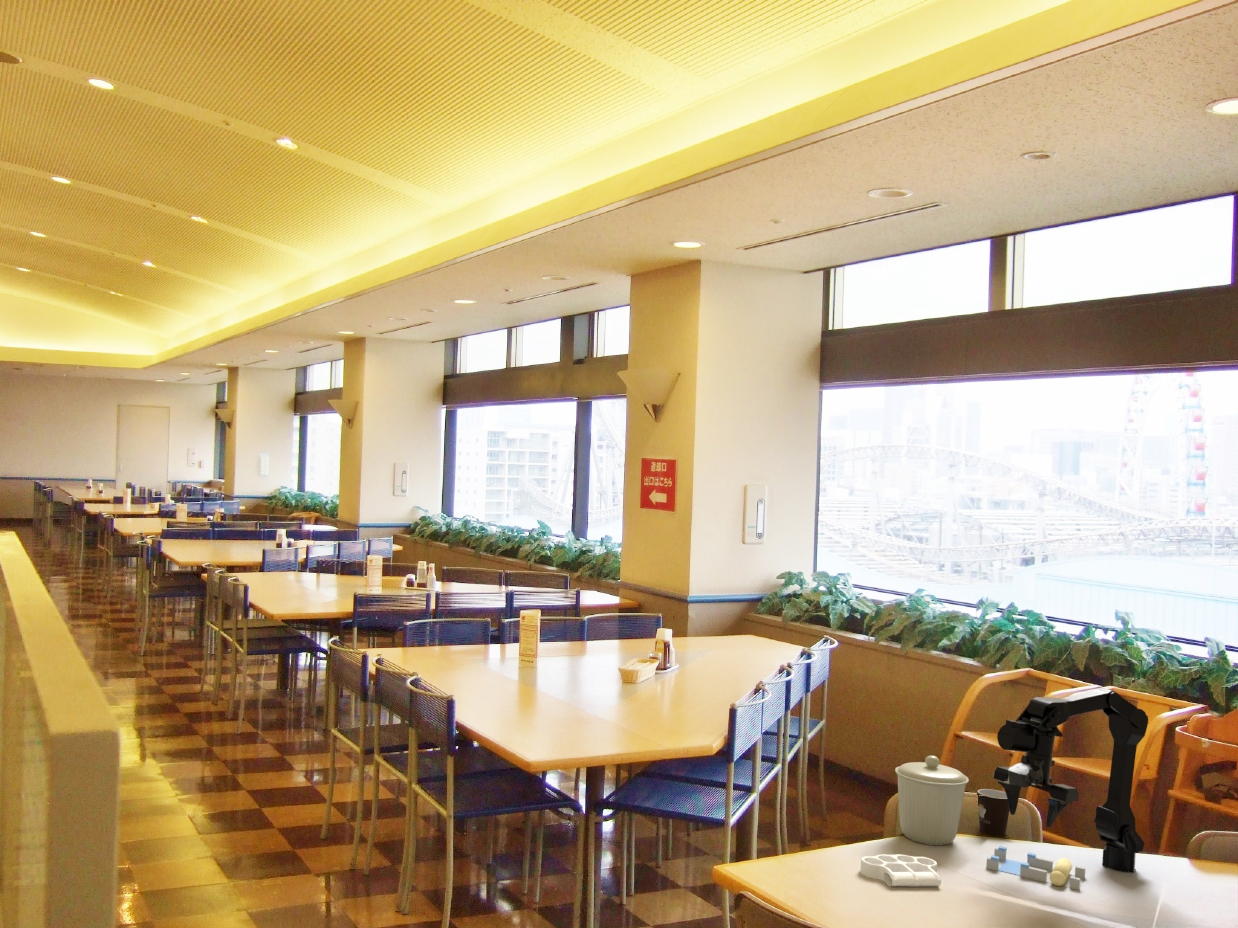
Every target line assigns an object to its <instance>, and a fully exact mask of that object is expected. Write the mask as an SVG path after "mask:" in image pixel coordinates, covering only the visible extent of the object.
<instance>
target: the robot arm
mask: <svg viewBox="0 0 1238 928" xmlns="http://www.w3.org/2000/svg"><path fill="white" fill-rule="evenodd" d="M1096 711H1101V712H1102V713H1103V714H1104V715H1106V716H1107V718H1108V729H1109V733H1110V735H1111V736H1112V739H1113V746H1112V747H1113V748H1112V754H1111V755H1112V757H1111V763H1110V764H1111V765H1110V773H1109V780H1108V781H1109V782H1108V789H1107V791H1108V792H1107V798H1106V800H1105V802H1104V803H1103V804H1102V806H1101V805H1097V806H1096V808H1095V818H1094V820H1093V822H1094V823H1095V829H1096V831H1097V832H1098V836H1099V840H1100V841H1101V842H1104V843H1106V844H1105V846H1104V848H1103V849H1102V863H1101V865H1102V866H1103V867H1105V868H1108V869H1110V870H1113V871H1117V872H1120V873H1122V872H1123V873H1131V874H1134V873H1135V871H1136V870H1137V869H1136V855H1137V853H1139V852H1142V851H1143V849H1144V846H1145V841H1144V840H1143V838H1142V837H1141V836H1140V835H1139V833H1138V832H1137V831H1136V818H1135V814H1134V812H1133V810H1132V808H1131V800H1132V799H1131V797H1132V790H1133V789H1132V788H1133V780H1134V774H1135V773H1134V772H1135V764H1136V753H1137V747H1138V745H1139V743H1140V742H1141V741H1142V740H1143V738H1144V737H1145V736H1146V733H1147V728H1148V725H1149V716H1148V715H1147V713H1146V712H1145V711H1144V709H1141V708H1138V707H1137V706H1136V705H1134V704H1133V703H1131V702H1130V701H1128V700H1126V699H1125V698H1123V697H1122V696H1121V695H1120V694H1119V693H1117V691H1115V690H1111V689H1107V688H1103V687H1100V688H1097V689H1095V690H1091V691H1087V692H1081V693H1077V694H1074V695H1073V694H1072V695H1070V696H1069V695H1068V696H1065V697H1058V698H1057V697H1047V696H1046V697H1042V696H1039V697H1038V696H1037V697H1034V698H1031V699H1029V703H1028V705H1027V706H1026V707H1025V708H1024V709H1023V710H1022V712H1021V713H1020V715H1019V716H1018V717H1017V718H1016V720H1015V721H1014V720H1011V719H1006V720H1005V724H1003V725H1002V726H1000V728H999V729H998V731H997V735H996V736H997V737H996V738H997V744H998V746H999V747H1000V748H1001V749H1003V750H1004V751H1012V752H1021V753H1022V752H1023V753H1025V754H1021V755H1022V756H1021V757H1020V762H1018V763H1016V764H1013V765H1012V766H996V767H995V769H994V770H993V774H992V778H993V779H995V780H997V783H998V784H999V785H1000V786H1001V787H1002V788H1003V790H1004V792H1006V795H1007V799H1008V804H1009V809H1010V811H1009V815H1012V816H1014V815H1015V814H1016V812H1017V808H1018V805H1019V804H1018V803H1019V798H1020V794H1021V791H1022V789H1023V788H1024V789H1025V788H1026V789H1027V788H1028V787H1031V788H1036V789H1038V790H1040V791H1041V790H1042V791H1044V792H1047V793H1048V794H1049V795H1050V797H1047V802H1048V810H1047V816H1046V824H1045V825H1046V826H1045V827H1046V828H1048V829H1049V828H1051V827H1052V826H1053V824H1054V823H1055V821H1056V819H1057V818H1058V817H1059V815H1060V814H1061V812H1062V811H1063V810H1064V809H1065V808H1066V806H1067V805H1069V804H1073V802H1079V795H1080V793H1079V792H1078V791H1079V790H1078V789H1077V788H1076V787H1073V786H1069V785H1066V784H1064V783H1059V784H1058V783H1053V778H1052V777H1051V770H1052V766H1055V763H1056V760H1053V754H1054V747H1055V739H1056V737H1057V738H1063V736H1064V735H1063V732H1062V731H1060V730H1059V727H1058V726H1061V725H1062V724H1065V723H1067V721H1068V720H1069V719H1070V718H1071V717H1074V716H1080V715H1083V714H1088V713H1092V712H1096Z"/></svg>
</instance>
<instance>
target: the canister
mask: <svg viewBox="0 0 1238 928" xmlns="http://www.w3.org/2000/svg"><path fill="white" fill-rule="evenodd" d="M894 772H895V773H896V775H897V791H898V793H897V795H898V812H899V825H900V829H901V832H902V833H903V835H904V836H905V837H906V838H908V839H910V840H911V841H914V842H917V843H918V844H919V843H921V844H924V845H929V844H931V846H945V845H949V844H951V843H953V842H954V840H955V838H956V837H957V835H958V830H959V825H960V820H961V814H962V810H963V809H962V808H963V803H964V802H963V801H964V797H965V791H966V790H965V789H966V786H967V784H968V783H969V781H970V779H969V777H968V776H967V775H965V774H964V773H963V772H961V771H960V770H959V769H956V768H953V767H952V766H951V767H950V766H948V765H944V764H940V759H939V758H938V757H937V756H936V755H928V756H926V757H925V761H924V762H922V761H917V762H916V761H913V762H906V763H903V764H901V765H900V766H896V767H895V769H894Z"/></svg>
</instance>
